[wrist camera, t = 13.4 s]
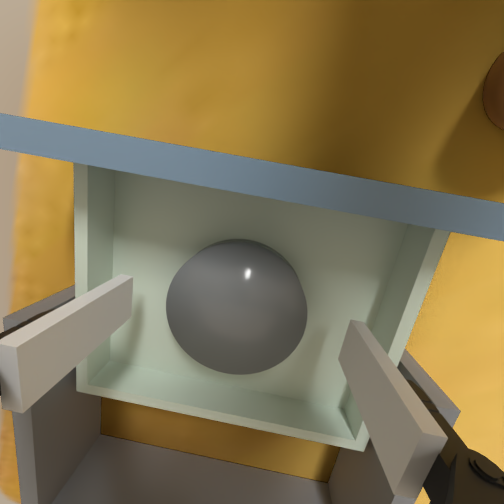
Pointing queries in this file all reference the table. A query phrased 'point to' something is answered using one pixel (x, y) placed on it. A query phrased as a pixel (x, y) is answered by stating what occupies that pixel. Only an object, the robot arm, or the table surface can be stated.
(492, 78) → the brown oval piece
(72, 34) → the table surface
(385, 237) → the tray
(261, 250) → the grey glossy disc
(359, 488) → the dock
